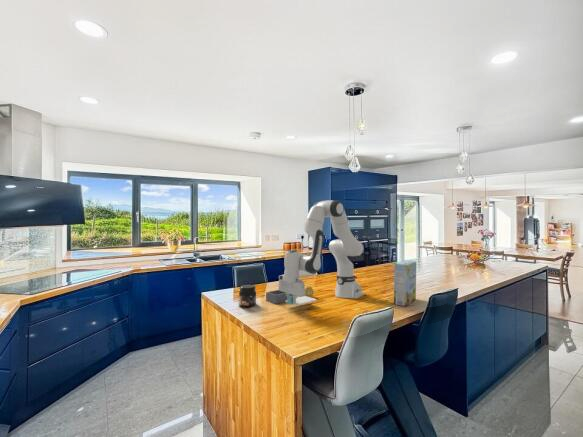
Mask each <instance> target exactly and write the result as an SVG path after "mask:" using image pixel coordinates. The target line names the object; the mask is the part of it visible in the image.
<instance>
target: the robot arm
mask: <svg viewBox="0 0 583 437" xmlns="http://www.w3.org/2000/svg"><path fill="white" fill-rule="evenodd" d="M325 218H330V222H331V226H332V231H333V234H334V236H335V237H337V239H333V240H331V241H330V242H329V244H328V249H329V250H328V251H329V252H330V253H331V254H332V255H333V257H334V259H335V263H336V268H337V269H336V270H337V272H336V273H337V275H336V283H335V291H334V296H335V297H338V298H341V299H342V298H343V299H358V298H360V297H363V296H364V295H366V293H365V292H364V291H362V285H361V284H360V283H358V282H357V281H356V279H358V275H355V274H354V270H355V269H354V268H355V267H354V263H353V262H352V261H351V260H350V259H349V258H348V257H358V256H359V257H360V256H361V254H362V253H363V252H364V246H363V243H362V242H361V241H360V240H358V239H357V238H356V237H355V236H354V235H353V232H352V231H351V229H350V224H349V220H348V217H347V214H346V210H345V208H344V205H343V203H342V201H340V200H337V199H336V200H331V199H328V200H319V201H316V202H314V204H313V206H311V207H310V209H309V211H308V213H307V217H306V219H305V223H304V231H305V233H306V235H307V236H309V237H311V239H312V241H313V243H312V247H311V254H310V255H307V254H303V253H301V252H300V251H299V250H297V249H290V250H287V251H286V252H285V254H284V260H283V261H284V263H283V264H284V265H283V266H284V272H283V273H284V274H281V275H278V279H279V280H278V290H280V291H282V292H285V293H286V296H287V297H289V296H290V295H289V294H292V295H293V297H294V298H293V299H292V302H294V303H295V302H296V299H297V298H299V297H303V296H305V287H306V286H305V282H304V281H303V280H302V279H300V271H302V272H306V273H308V274H311V275H315V274H317V273H318V272H320V271H321V268H322V255H323V247H324V239H325V235H324V231H323V227H324V223H325Z"/></svg>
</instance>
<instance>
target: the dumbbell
mask: <svg viewBox="0 0 583 437" xmlns="http://www.w3.org/2000/svg"><path fill="white" fill-rule="evenodd" d="M305 296H307V297H311V298H313V297H314V289H313V287H312V286H309V285H307V286H305Z"/></svg>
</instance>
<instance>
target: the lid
mask: <svg viewBox="0 0 583 437" xmlns="http://www.w3.org/2000/svg"><path fill="white" fill-rule="evenodd" d="M293 298H294V297H293V296H289V297H287V300H286V301H285V302H284V303H286V304H287V305H290V306H291V305H294V306H297V307H298V306H299V307H300V306H301V305H305V304H310V303H314V302H317V301H318V299H316V298H314V297H312V298H311V297H307V296H303V297H299V296H298V297H297V299H296V302H295V303H294V302H292V299H293Z"/></svg>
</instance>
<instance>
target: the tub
mask: <svg viewBox="0 0 583 437" xmlns="http://www.w3.org/2000/svg"><path fill="white" fill-rule="evenodd" d="M289 295H290V296H293V295H292V294H289ZM286 300H287V296H286V293H285V292H282V291H280V290H279V289H276V290H271V291H266V292H265V301H266V302H268V303H272V304H275V305H277V304H282V303H286V302H285V301H286Z"/></svg>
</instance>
